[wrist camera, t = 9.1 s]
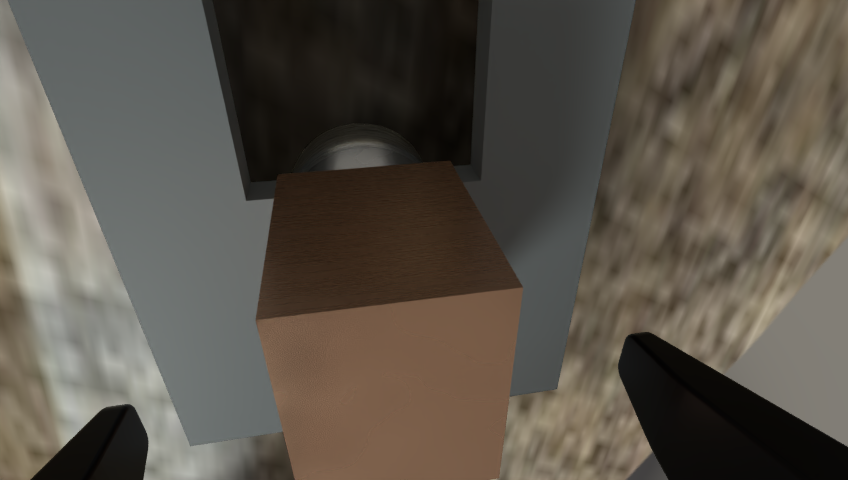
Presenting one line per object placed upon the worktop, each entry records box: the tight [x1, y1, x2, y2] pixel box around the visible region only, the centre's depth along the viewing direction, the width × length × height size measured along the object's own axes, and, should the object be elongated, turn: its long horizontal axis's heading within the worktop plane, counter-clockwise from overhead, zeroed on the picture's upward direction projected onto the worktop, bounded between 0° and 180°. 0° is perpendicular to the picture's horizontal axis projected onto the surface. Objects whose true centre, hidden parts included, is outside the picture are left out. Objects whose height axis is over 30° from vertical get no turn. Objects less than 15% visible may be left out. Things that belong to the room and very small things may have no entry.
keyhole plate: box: [8, 0, 636, 446], centre depth 14 cm, size 12×16×6 cm
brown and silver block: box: [256, 123, 523, 480], centre depth 12 cm, size 4×5×9 cm
